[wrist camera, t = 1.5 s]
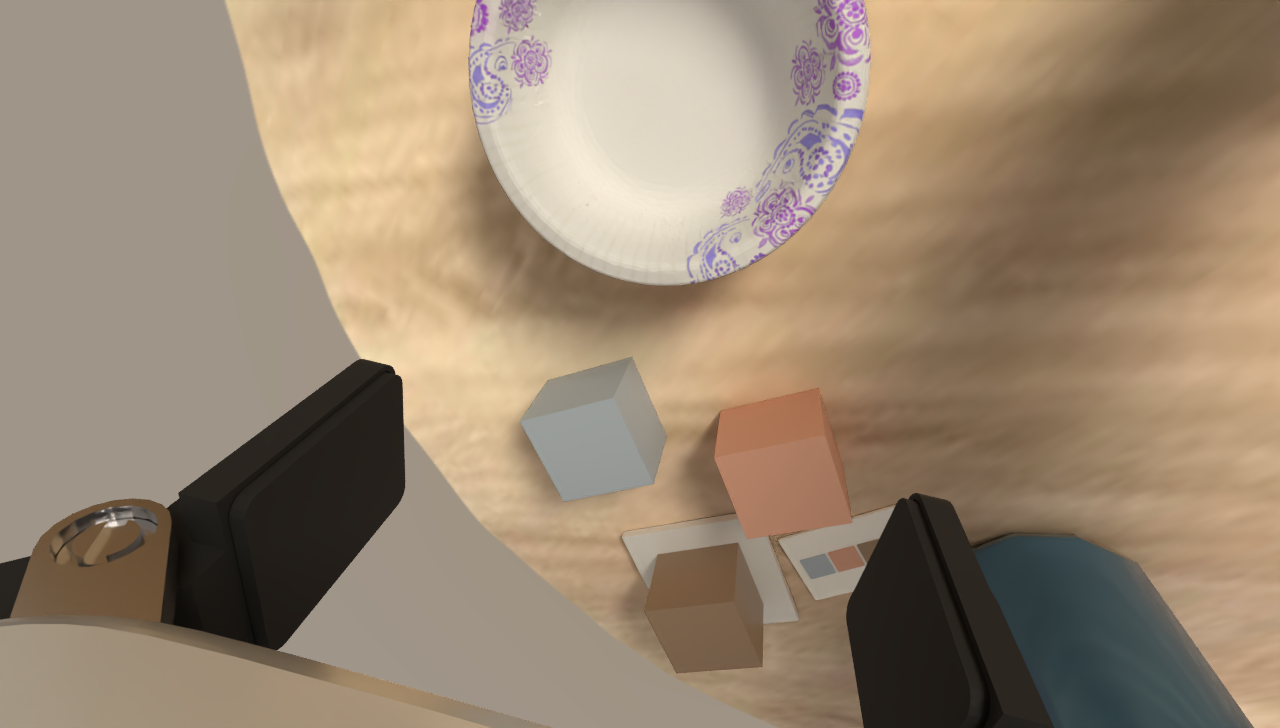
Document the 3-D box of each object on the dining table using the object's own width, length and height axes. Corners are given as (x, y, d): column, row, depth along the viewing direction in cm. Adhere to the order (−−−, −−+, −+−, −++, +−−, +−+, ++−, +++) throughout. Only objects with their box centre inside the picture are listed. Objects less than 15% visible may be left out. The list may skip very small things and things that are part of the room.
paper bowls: (533, -124, 26) (446, -187, 19) (890, -101, 24) (937, -162, 17) (533, 219, 33) (470, 263, 26) (807, 258, 31) (816, 317, 24)
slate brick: (632, 355, 36) (613, 397, 32) (667, 435, 38) (653, 484, 34) (548, 379, 38) (519, 421, 34) (586, 453, 40) (563, 501, 36)
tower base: (758, 509, 40) (756, 573, 35) (798, 613, 43) (801, 685, 38) (623, 531, 43) (604, 593, 38) (671, 626, 47) (659, 693, 42)
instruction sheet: (895, 504, 37) (896, 507, 37) (930, 570, 39) (931, 573, 39) (778, 538, 40) (778, 542, 40) (815, 598, 42) (815, 601, 42)
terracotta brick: (818, 387, 35) (824, 435, 30) (843, 467, 37) (852, 522, 33) (720, 409, 37) (713, 457, 32) (749, 484, 39) (747, 539, 35)
